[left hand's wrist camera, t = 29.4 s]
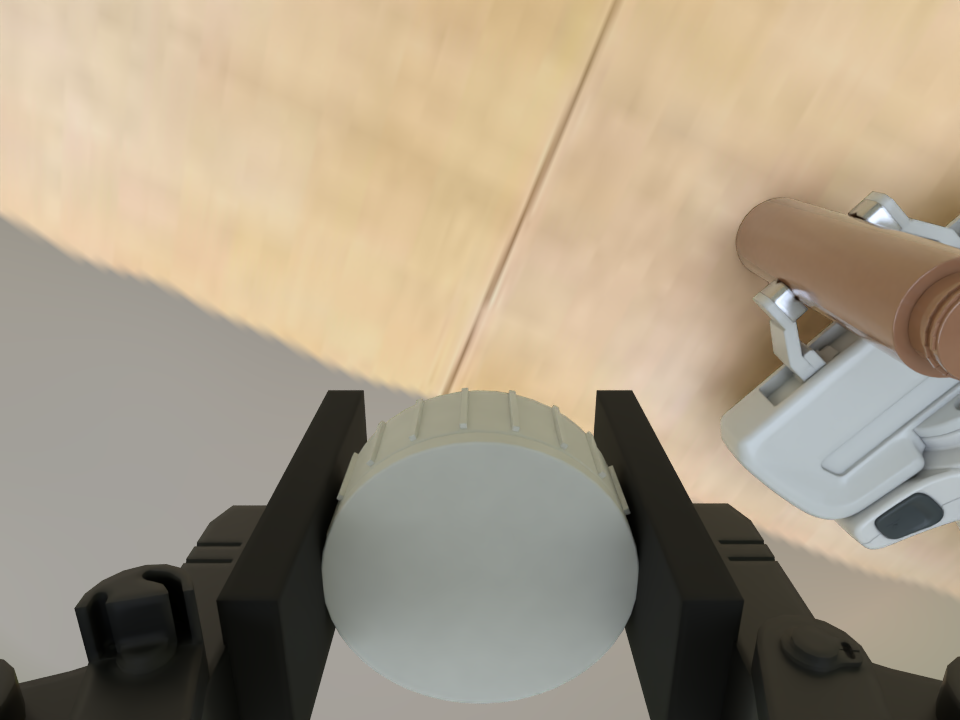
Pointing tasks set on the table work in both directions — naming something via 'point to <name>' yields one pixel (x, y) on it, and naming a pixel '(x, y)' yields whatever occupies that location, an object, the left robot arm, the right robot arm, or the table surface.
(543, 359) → the table surface
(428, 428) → the lid
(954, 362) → the jar
